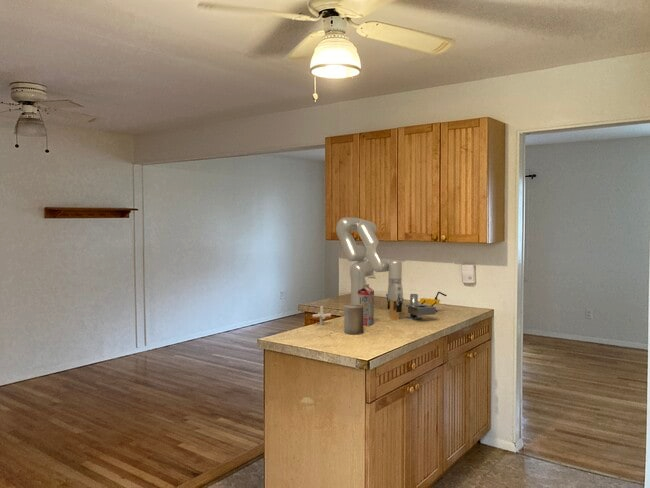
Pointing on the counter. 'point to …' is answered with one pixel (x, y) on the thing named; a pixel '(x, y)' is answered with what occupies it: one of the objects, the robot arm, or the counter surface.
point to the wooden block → (393, 310)
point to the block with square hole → (418, 308)
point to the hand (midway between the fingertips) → (394, 310)
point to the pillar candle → (353, 319)
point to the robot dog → (431, 300)
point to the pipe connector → (321, 315)
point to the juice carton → (367, 304)
